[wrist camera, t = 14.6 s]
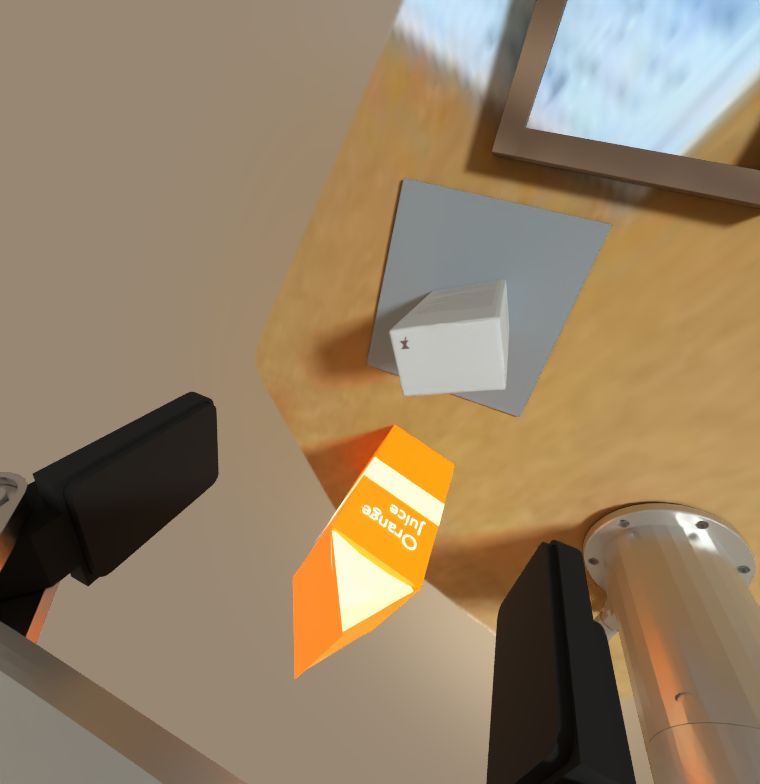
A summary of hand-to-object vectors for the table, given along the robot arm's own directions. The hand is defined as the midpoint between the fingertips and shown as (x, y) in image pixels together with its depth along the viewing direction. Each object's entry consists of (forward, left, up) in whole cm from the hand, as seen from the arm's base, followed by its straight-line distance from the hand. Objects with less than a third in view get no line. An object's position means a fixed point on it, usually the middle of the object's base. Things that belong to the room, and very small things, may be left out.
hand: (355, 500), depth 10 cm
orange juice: (-19, +1, -24) cm, 31 cm away
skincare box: (0, 0, -24) cm, 24 cm away
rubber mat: (0, 0, -24) cm, 24 cm away
